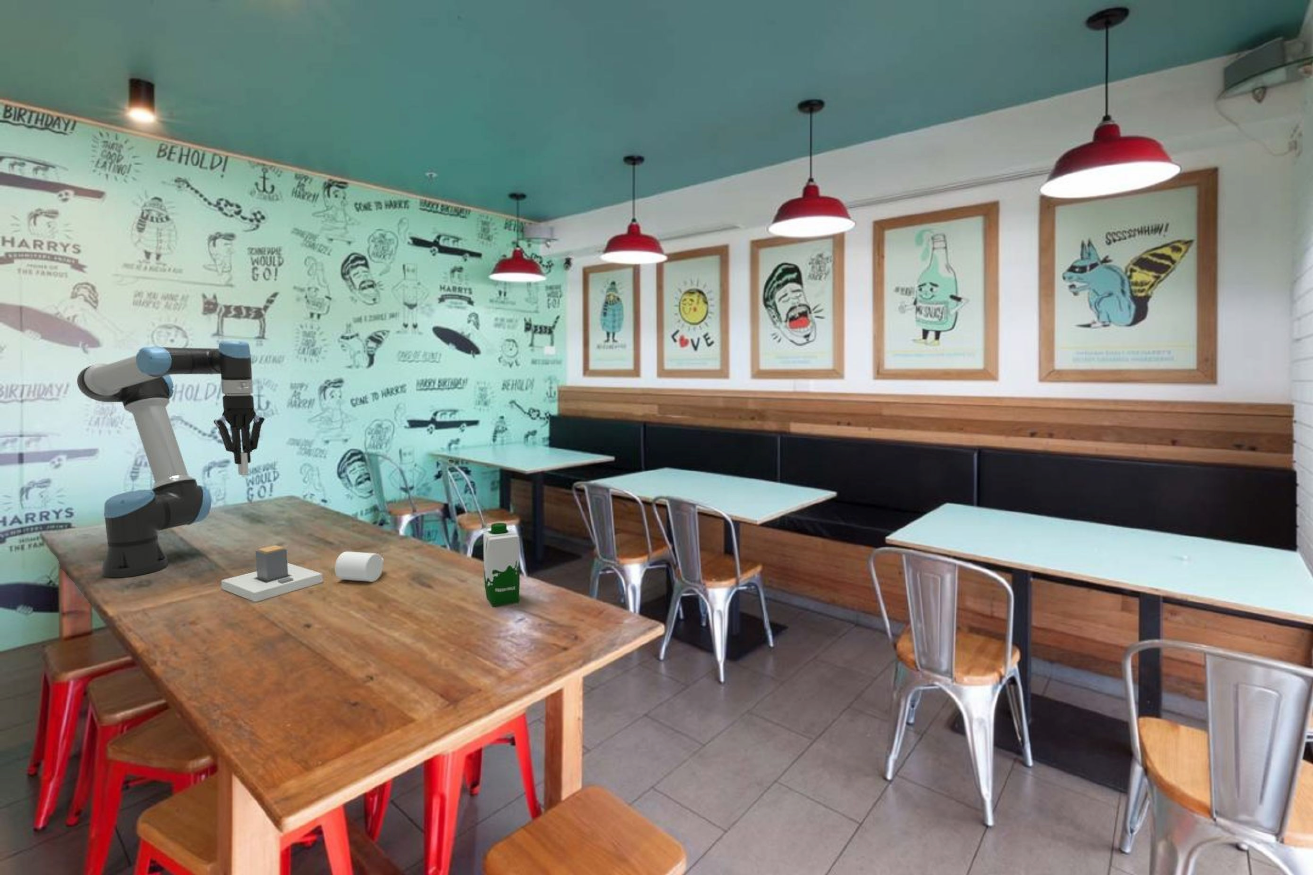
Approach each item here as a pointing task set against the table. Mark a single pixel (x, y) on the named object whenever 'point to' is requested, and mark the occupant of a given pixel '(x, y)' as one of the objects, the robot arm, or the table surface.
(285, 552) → the plug
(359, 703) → the table surface
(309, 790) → the table surface
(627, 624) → the table surface
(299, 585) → the socket plate
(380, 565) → the mug
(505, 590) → the milk carton
